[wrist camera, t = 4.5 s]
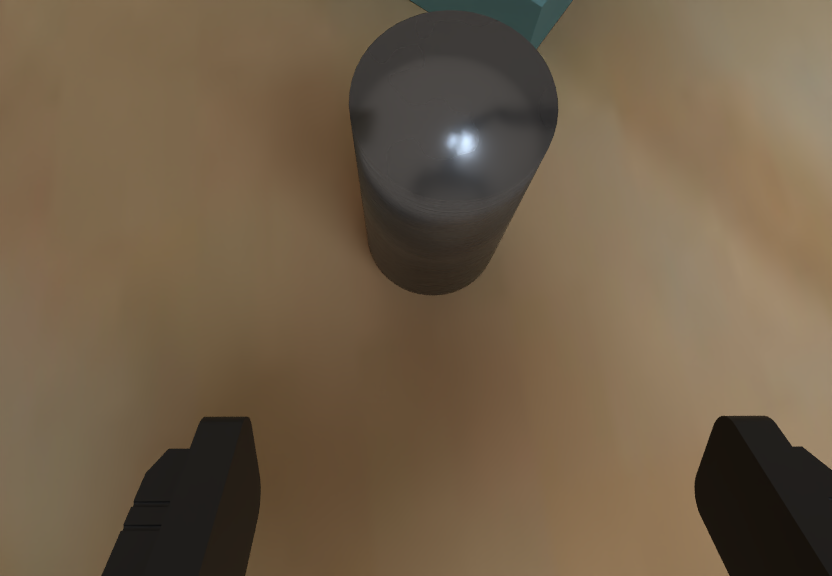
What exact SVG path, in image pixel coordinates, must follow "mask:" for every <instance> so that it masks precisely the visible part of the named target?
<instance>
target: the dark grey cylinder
mask: <svg viewBox="0 0 832 576" xmlns="http://www.w3.org/2000/svg"><path fill="white" fill-rule="evenodd" d="M349 109H350V119H351V126H352V133H353V140H354V147H355V154H356V161H357V168H358V175H359V182H360V189H361V196H362V203H363V210H364V217H365V224H366V231H367V238H368V244H369V248H370V252H371V254H372V257H373V259H374V261H375V263H376V265H377V266H378V268H379V269H380V270H381V272H382V273H383V274H384V275H385V276H386V277H387V278H388V279H389V280H391V281H392V282H393V283H394V284H396V285H398V286H399V287H401V288H403V289H405V290H408V291H410V292H414V293H417V294H423V295H443V294H448V293H452V292H455V291H457V290H460V289H462V288H464V287H466V286H467V285H469V284H470V283H472V282H473V281H474V280H475V279H476V278H477V277H478V276H480V274H481V273H482V272H483V271H484V269H485V268H486V266H487V265H488V263H489V261H490V259H491V258H492V256H493V254H494V252H495V250H496V248H497V246H498V244H499V242H500V240H501V238H502V236H503V234H504V232H505V231H506V229H507V227H508V225H509V223H510V221H511V219H512V217H513V215H514V213H515V211H516V209H517V207H518V206H519V204H520V202H521V200H522V198H523V196H524V194H525V192H526V190H527V188H528V186H529V184H530V182H531V180H532V179H533V177H534V175H535V173H536V171H537V169H538V167H539V165H540V163H541V161H542V159H543V157H544V155H545V154H546V152H547V150H548V148H549V145H550V143H551V141H552V138H553V136H554V132H555V128H556V125H557V117H558V98H557V92H556V87H555V84H554V81H553V77H552V75H551V72H550V70H549V68H548V66H547V64H546V63H545V61H544V59H543V58H542V56H541V55H540V53H539V52H538V51H537V50H536V49H535V47H534V46H533V45H532V44H531V43H530V42H529V41H528V40H527V39H526V38H525V37H523V36H522V35H521V34H520V33H518V32H517V31H515V30H514V29H513V28H511V27H510V26H508V25H506V24H504V23H502V22H500V21H498V20H496V19H493V18H491V17H488V16H485V15H481V14H478V13H474V12H467V11H458V10H443V11H433V12H428V13H423V14H420V15H417V16H413V17H410V18H408V19H406V20H404V21H402V22H399V23H397V24H396V25H394V26H393V27H391V28H390V29H388V30H387V31H385V32H384V33H383V34H382V35H380V36H379V37H378V38H377V39H376V40H375V41H374V42H373V43H372V44H371V45H370V46H369V48H368V49H367V51H366V52H365V53H364V55H363V56H362V58H361V60H360V62H359V64H358V65H357V67H356V70H355V73H354V76H353V78H352V82H351V88H350V95H349Z"/></svg>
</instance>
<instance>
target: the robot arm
mask: <svg viewBox="0 0 832 576" xmlns="http://www.w3.org/2000/svg"><path fill="white" fill-rule="evenodd" d="M260 494H261V485H260V475H259V468H258V462H257V456H256V450H255V443H254V437H253V431H252V425H251V421H250V418H249V417H203V418H202V419H201V421H200V423H199V425H198V428H197V431H196V433H195V436H194V439H193V441H192V444H191V447H190V449H168V450H167V451H166V452H165V453H164V455H163V456H162V457H161V458H160V459H159V460H158V461H157V462H156V463H155V464H154V465H153V466H152V467H151V468H150V469H149V470H148V471H147V472H146V474H145V476H144V478H143V481H142V483H141V485H140V488H139V490H138V492H137V495H136V497H135V499H134V505H133V507H131V509H130V511H129V513H128V516H127V518H126V520H125V523H124V528H123V531H121V532H120V534H119V536H118V539H117V541H116V543H115V546H114V548H113V550H112V553H111V555H110V557H109V560H108V562H107V564H106V567H105V569H104V571H103V574H102V576H245V573H246V569H247V564H248V560H249V555H250V551H251V546H252V542H253V537H254V533H255V528H256V524H257V519H258V514H259V507H260ZM695 499H696V504H697V508H698V511H699V513H700V515H701V518H702V520H703V522H704V524H705V526H706V528H707V530H708V532H709V534H710V536H711V538H712V540H713V542H714V544H715V546H716V549H717V551H718V553H719V555H720V557H721V559H722V561H723V563H724V565H725V567H726V569H727V571H728V573H729V575H730V576H832V470H831V469H830V468H828V467H827V466H826V465H825V464H823V463H822V462H821V461H820V460H818V459H817V458H816V457H815V456H813V455H812V454H811V453H809V452H808V451H807V450H806V449H804V448H803V447H792V446H791V444H790V443H789V441H788V440H787V439H786V437H785V436H784V434H783V433H782V432H781V430H780V429H779V427H778V426H777V424H776V423H775V422H774V421H773V420H772V419H771V418H769V417H767V416H721V417H719V418H718V419H717V420H716V421H715V423H714V426H713V429H712V431H711V434H710V437H709V440H708V443H707V446H706V449H705V451H704V454H703V457H702V460H701V463H700V466H699V469H698V471H697V474H696V478H695Z"/></svg>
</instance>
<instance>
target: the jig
mask: <svg viewBox="0 0 832 576" xmlns="http://www.w3.org/2000/svg"><path fill="white" fill-rule="evenodd" d="M410 1H412V2H413V3H415V4H417V5H418V6H420V7H421V8H423V9H425V10H426V11H428V12H433V11H443V10H458V11H467V12H474V13H478V14H481V15H485V16H488V17H491V18H493V19H496V20H498V21H500V22H502V23H504V24H506V25H508V26H510V27H511V28H513V29H514V30H515V31H517V32H518V33H520V34H521V35H522V36H523V37H525V38H526V39H527V40H528V41H529V42H530V43H531V44H532V45H533V46H534V47H535V49H537V48H538V46H539V45H540V44H541V42H542V41H543V40H544V38H545V37H546V36H547V34H548V33H549V32H550V30H551V29H552V28H553V26H554V25H555V23H556V22H557V21H558V19H559V18H560V17H561V15H562V14H563V13H564V11H565V10H566V9H567V7H568V6H569V5H570V3H571V2H572V1H573V0H410Z"/></svg>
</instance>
